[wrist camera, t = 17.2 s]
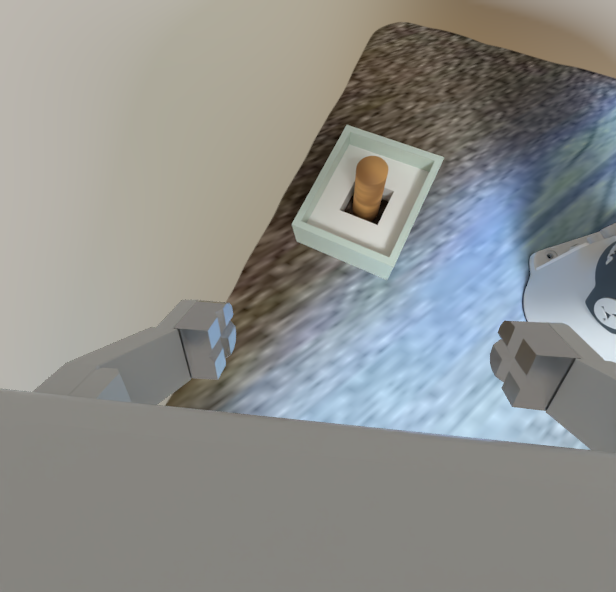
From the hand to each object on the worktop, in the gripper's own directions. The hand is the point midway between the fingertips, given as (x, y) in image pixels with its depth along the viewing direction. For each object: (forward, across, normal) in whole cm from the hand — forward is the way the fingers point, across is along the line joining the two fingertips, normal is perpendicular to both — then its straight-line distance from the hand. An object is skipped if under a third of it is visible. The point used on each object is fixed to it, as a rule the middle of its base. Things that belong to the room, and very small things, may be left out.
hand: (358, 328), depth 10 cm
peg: (+41, -2, +7) cm, 42 cm away
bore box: (+41, -2, +7) cm, 42 cm away
